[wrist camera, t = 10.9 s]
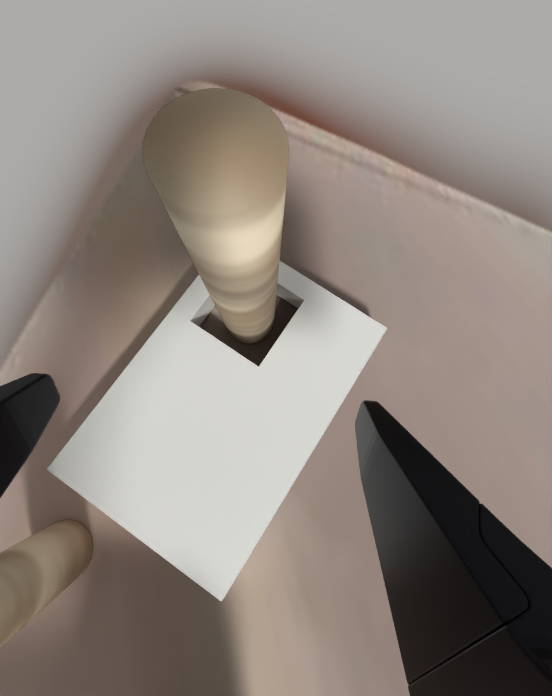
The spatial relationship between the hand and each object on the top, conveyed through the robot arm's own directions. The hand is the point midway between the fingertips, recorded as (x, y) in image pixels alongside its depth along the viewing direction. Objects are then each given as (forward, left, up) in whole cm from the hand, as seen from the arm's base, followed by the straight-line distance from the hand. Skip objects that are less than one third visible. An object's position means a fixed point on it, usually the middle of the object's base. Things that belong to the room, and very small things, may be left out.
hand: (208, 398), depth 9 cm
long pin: (+5, +3, -11) cm, 12 cm away
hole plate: (0, +1, -11) cm, 11 cm away
